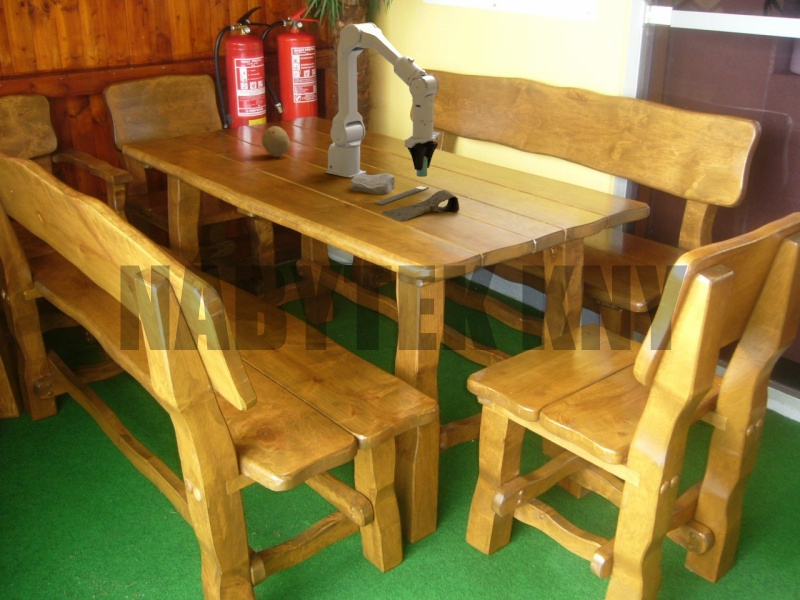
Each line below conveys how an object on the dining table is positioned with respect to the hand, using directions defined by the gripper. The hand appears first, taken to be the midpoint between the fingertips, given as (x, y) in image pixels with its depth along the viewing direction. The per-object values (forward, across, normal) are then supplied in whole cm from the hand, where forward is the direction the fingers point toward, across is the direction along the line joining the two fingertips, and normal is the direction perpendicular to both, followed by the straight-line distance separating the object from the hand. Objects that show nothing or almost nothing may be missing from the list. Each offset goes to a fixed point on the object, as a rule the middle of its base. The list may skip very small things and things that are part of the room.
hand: (421, 168), depth 232 cm
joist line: (+6, -9, 0) cm, 11 cm away
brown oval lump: (+6, +2, +59) cm, 59 cm away
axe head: (+7, -19, -13) cm, 24 cm away
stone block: (+6, -9, +11) cm, 16 cm away
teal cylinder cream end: (+2, 0, 0) cm, 2 cm away
